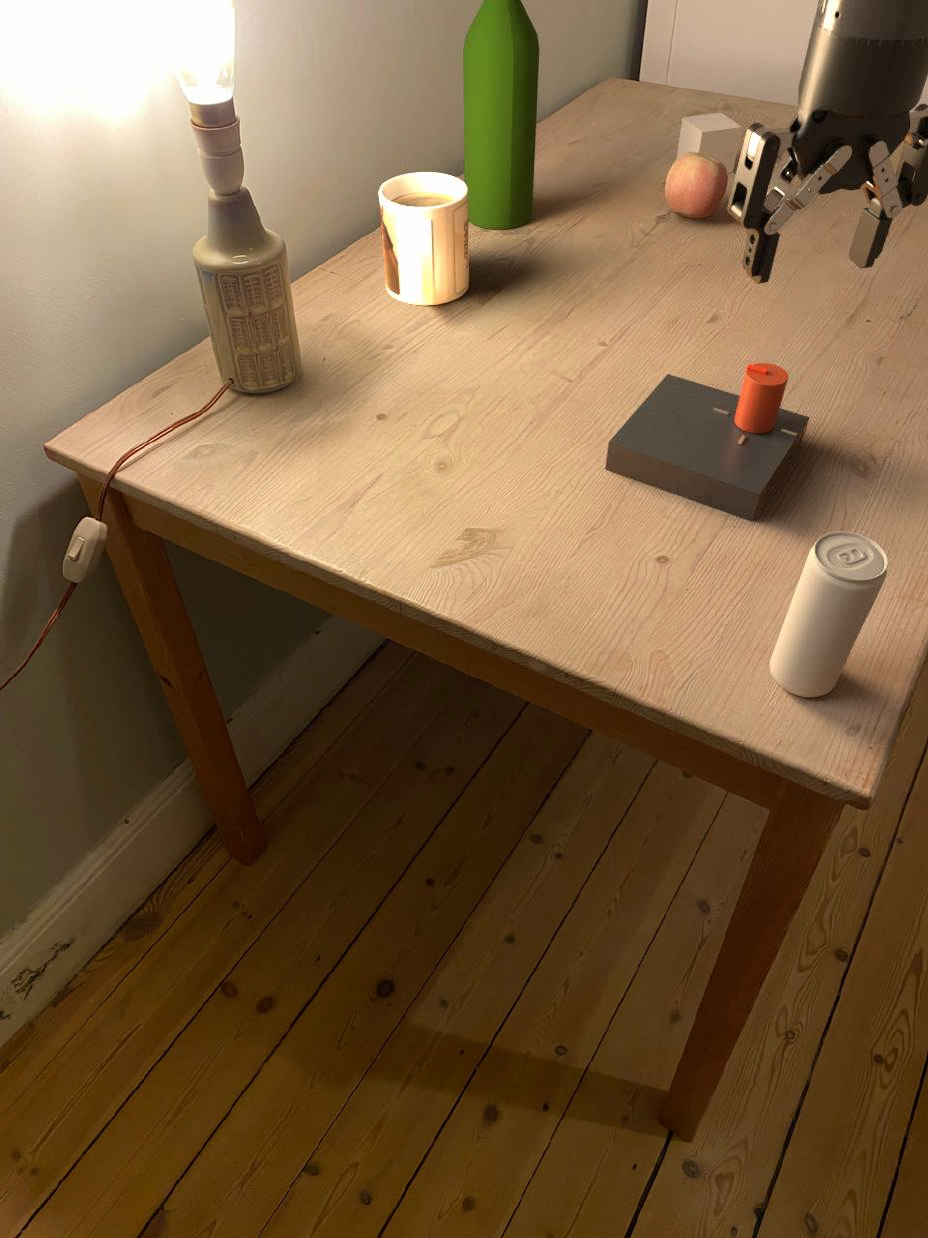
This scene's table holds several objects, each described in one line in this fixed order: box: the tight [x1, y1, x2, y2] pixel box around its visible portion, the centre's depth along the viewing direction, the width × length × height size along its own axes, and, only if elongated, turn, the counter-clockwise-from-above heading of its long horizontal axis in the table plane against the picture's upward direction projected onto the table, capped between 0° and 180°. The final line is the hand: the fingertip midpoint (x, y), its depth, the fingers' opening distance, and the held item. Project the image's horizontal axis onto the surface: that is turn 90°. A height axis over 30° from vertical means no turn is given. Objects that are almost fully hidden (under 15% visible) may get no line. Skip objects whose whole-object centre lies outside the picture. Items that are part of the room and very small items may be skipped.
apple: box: [664, 152, 729, 219], centre depth 116 cm, size 8×8×8 cm
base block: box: [604, 373, 810, 522], centre depth 83 cm, size 14×13×3 cm
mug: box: [378, 171, 470, 306], centre depth 103 cm, size 10×12×11 cm
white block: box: [675, 112, 743, 174], centre depth 128 cm, size 6×6×6 cm
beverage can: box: [769, 530, 890, 698], centre depth 62 cm, size 5×5×12 cm
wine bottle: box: [462, 0, 540, 231], centre depth 108 cm, size 9×9×32 cm
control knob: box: [734, 362, 789, 434], centre depth 81 cm, size 4×4×5 cm
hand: (808, 270), depth 67 cm, fingers open, 8 cm apart
